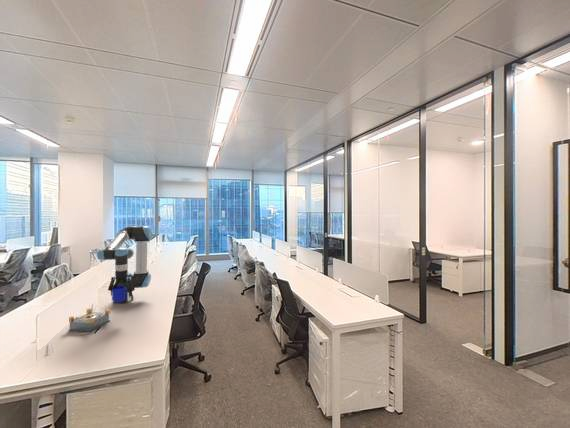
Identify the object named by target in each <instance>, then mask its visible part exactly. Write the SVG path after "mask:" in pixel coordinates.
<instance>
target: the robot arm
mask: <svg viewBox="0 0 570 428" xmlns="http://www.w3.org/2000/svg"><path fill="white" fill-rule="evenodd" d="M152 233H153V232H152V229H151V227H150V226H146V225H143V226H140V225H135V226H133V225H131V226H127V227H124V228H122V229H120V230H119V231H118V232H117V233H116V234H115V237H114V238H113V240H112V241H111V242H110V243H109V244H108V245H107V246H106V247H105V248H102V249H99V250H98V251H97V253H96V258H97V259H98V260H100V261H106V260H107V261H110V260H114V262H115V264H114V265H115V267H114V269H115V271H114V276H111V279H110V283H109V286H108V288H107V291H110V297H111V301H112V303H114V304H123V303H124V304H125V303H129V302H131V301H133V300H134V295H133V291H135V289H139V288H141V289H142V288H148V286H149V285H150V283H151V279H152V275H151V273H149V270H148V243H149V242H150V240H152V238H153V237H152V236H153V234H152ZM128 240H133V241H134V242H135V244H136V245H135V247H136V249H135V251H136V252H134V249H132V248H127V247H122V246H123V244H124V243H125V242H127V241H128ZM134 254H135V255H136V256H135V271H134V272H133V274H132V272H128V265H129V264H128V263H129V261H128V260H129V259H131V258H132V257H133V256H134ZM117 286H125V287H126V289H127V290H128V291H129V292H128V298H127V299H126V297H127V290H125V299H126V300H124V301H122V302H114V301H113V294H112V288H113V289H115V288H116V287H117Z"/></svg>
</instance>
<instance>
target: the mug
mask: <svg viewBox="0 0 570 428" xmlns="http://www.w3.org/2000/svg"><path fill="white" fill-rule="evenodd" d="M125 290H127V289H126V287H125V286H117V287H116V288H115V289H113V288H112V294H113V301H114V302H122V301H124V300H126V299H127V298H128V292H129V291H128V290H127V297H126V299H125ZM113 301H112V302H113ZM114 302H113V303H114Z"/></svg>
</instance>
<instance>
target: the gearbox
mask: <svg viewBox="0 0 570 428" xmlns="http://www.w3.org/2000/svg"><path fill="white" fill-rule="evenodd" d="M104 311H105V312H94V311H92V308H87V309H86V314H83V315H81V316H76V317H74V316H69V317H68V318H69V322H68V323H69V329H70V330H69V329H68V330H69V331H68V332H73V333H74V332H75V333H89V334H90V333H91V332H93V331H96V330H97V329H100V328H101V327H103V326H105V325H106V324H108V323H110V322H111V319H109V317H110V314H111V309H106V310H104Z"/></svg>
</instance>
